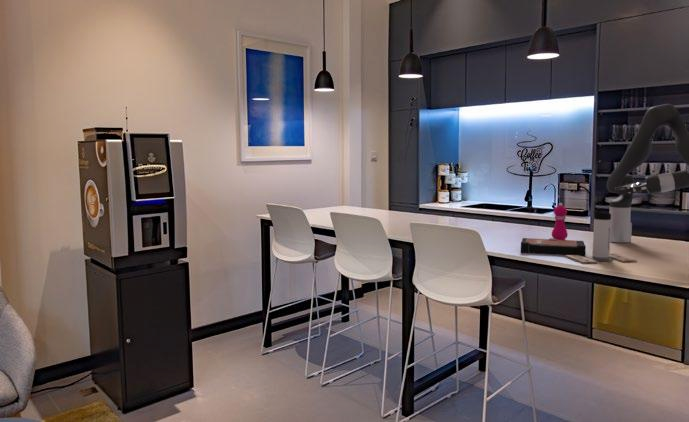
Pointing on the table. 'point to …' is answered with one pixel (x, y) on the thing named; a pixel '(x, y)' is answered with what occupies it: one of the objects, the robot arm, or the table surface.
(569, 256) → the brown flat boards
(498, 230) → the table surface
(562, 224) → the pepper mill
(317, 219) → the table surface
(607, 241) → the travel mug
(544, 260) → the table surface
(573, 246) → the book
